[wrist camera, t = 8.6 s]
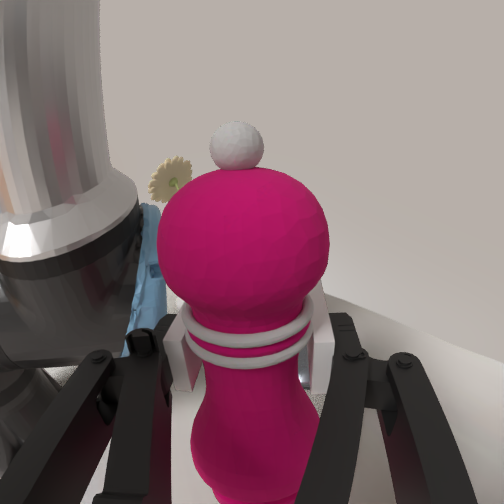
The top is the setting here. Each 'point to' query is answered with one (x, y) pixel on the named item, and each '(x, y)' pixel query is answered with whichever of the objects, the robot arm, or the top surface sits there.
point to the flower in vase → (170, 185)
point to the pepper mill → (247, 315)
